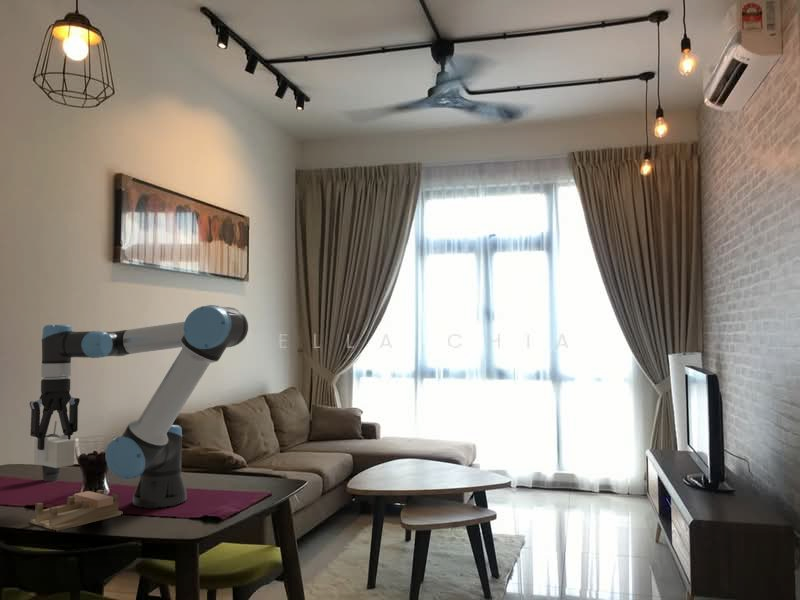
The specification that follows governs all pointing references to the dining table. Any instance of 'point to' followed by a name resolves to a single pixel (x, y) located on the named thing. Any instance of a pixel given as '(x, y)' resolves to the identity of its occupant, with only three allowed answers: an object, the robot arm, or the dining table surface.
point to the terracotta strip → (94, 499)
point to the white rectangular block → (56, 452)
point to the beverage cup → (51, 472)
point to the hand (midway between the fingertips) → (53, 459)
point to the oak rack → (74, 513)
